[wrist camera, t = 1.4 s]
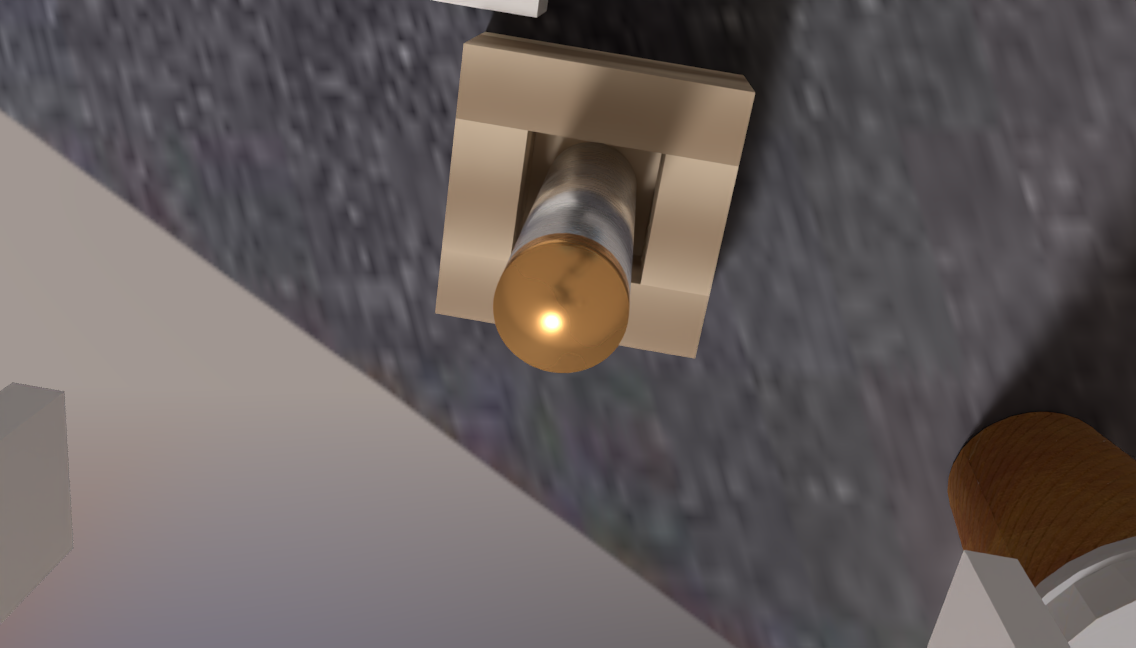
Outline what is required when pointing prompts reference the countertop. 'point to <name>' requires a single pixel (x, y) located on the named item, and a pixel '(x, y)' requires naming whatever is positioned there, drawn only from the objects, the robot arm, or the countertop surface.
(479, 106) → the socket block
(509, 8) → the rectangular frame
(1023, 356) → the countertop surface
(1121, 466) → the disposable coffee cup
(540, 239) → the pin
